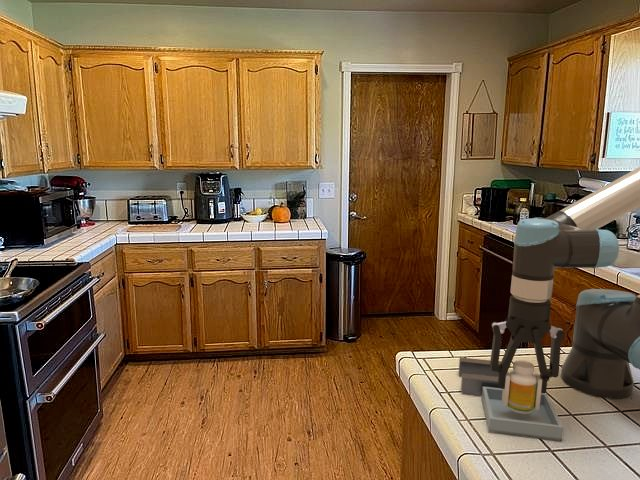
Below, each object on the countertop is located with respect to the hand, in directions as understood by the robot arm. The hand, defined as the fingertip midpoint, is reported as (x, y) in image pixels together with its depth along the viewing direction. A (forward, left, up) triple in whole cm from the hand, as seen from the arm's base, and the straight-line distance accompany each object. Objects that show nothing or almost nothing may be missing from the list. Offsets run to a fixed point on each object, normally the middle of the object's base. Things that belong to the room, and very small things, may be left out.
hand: (520, 404), depth 100 cm
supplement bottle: (0, 0, -1) cm, 1 cm away
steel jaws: (+6, -13, -3) cm, 15 cm away
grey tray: (0, 0, -3) cm, 3 cm away
